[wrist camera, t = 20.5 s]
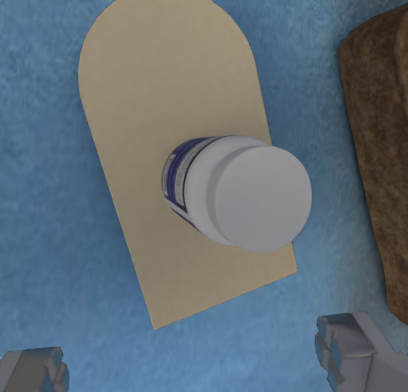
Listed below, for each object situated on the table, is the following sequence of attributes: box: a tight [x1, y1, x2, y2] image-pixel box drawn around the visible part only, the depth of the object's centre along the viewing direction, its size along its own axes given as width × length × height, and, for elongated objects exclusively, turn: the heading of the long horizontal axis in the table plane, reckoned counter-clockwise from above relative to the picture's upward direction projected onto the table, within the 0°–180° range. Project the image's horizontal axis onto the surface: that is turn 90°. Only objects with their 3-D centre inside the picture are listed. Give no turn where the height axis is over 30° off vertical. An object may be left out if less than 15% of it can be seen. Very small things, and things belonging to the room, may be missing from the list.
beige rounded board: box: [78, 0, 298, 330], centre depth 26 cm, size 22×12×5 cm, turn 15°
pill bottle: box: [161, 135, 312, 253], centre depth 20 cm, size 6×6×10 cm
